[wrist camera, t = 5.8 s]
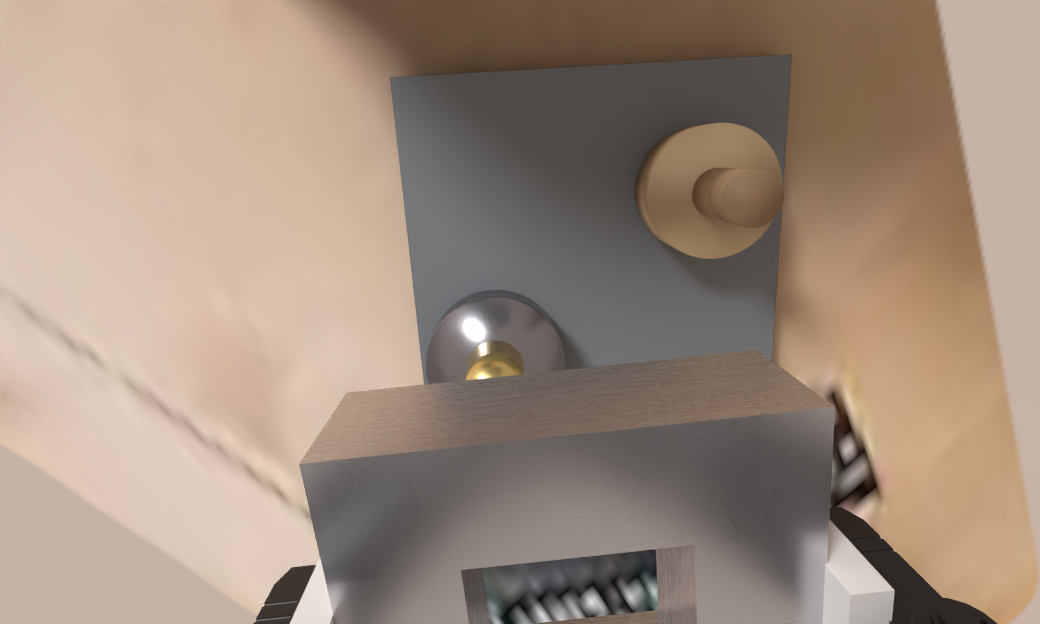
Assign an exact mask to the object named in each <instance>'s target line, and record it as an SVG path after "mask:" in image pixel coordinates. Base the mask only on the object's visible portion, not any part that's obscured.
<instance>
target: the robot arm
mask: <svg viewBox="0 0 1040 624" xmlns="http://www.w3.org/2000/svg"><path fill="white" fill-rule="evenodd" d="M264 604H265V605H264V607H262V609H261V611H260V613H259V614H258V616H257V618H256V622H255V623H254V624H335V621H334V616H333V612H332V607H331V603H330V599H329V594H328V590H327V585H326V581H325V576H324V572H323V567H322V563H321V558H319V560H318V563H317V565H310V566H301V567H292V568H291V569H290V570H289V571H288V572H287V573H286V574H285V575H284V576H283V577H282V578H281V579H280V580H279V581H278V582H277V583H275V584H274V586H273V588H272V590H271V592H270V594H269V596H268V598H267V599H266V601H265V603H264ZM822 624H997V623H996V622H995V621H993V620H992V619H991V618H990V617H988V616H987V615H986V614H985V613H983V612H981V611H979V610H978V609H976V608H974V607H972V606H970V605H968V604H966V603H962V602H959V601H956V600H952V599H949V598H942V597H941V596H940V595H939V594H938V593H937V592H936V591H935V590H934V589H933V588H932V587H931V586H930V585H929V584H928V583H927V582H926V581H925V580H924V579H923V578H922V577H921V576H920V575H919V574H918V573H917V572H916V571H915V570H914V569H913V568H912V567H911V566H910V565H909V564H908V563H907V562H906V561H905V560H904V559H903V558H902V557H901V556H900V555H899V554H898V553H897V552H894V551H893V548H892V547H891V546H890V545H889V544H888V543H887V542H886V541H885V540H884V539H881V538H880V535H879V534H878V533H877V532H875V531H874V530H873V529H872V528H871V527H870V526H869V525H868V524H867V523H866V522H865V521H864V520H863V519H861V518H859V517H858V516H856V515H854V514H852V513H851V512H849V511H847V510H845V509H843V508H842V507H839V508H830V519H829V539H828V559H827V564H825V579H824V599H823V620H822Z"/></svg>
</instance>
